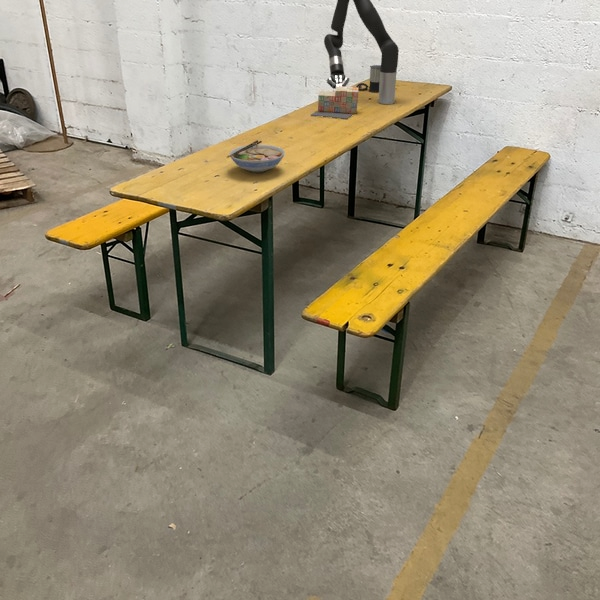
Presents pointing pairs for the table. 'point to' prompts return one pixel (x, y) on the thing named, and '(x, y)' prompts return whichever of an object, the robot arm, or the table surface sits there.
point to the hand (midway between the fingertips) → (339, 94)
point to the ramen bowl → (257, 156)
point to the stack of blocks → (339, 100)
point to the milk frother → (372, 80)
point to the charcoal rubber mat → (331, 115)
